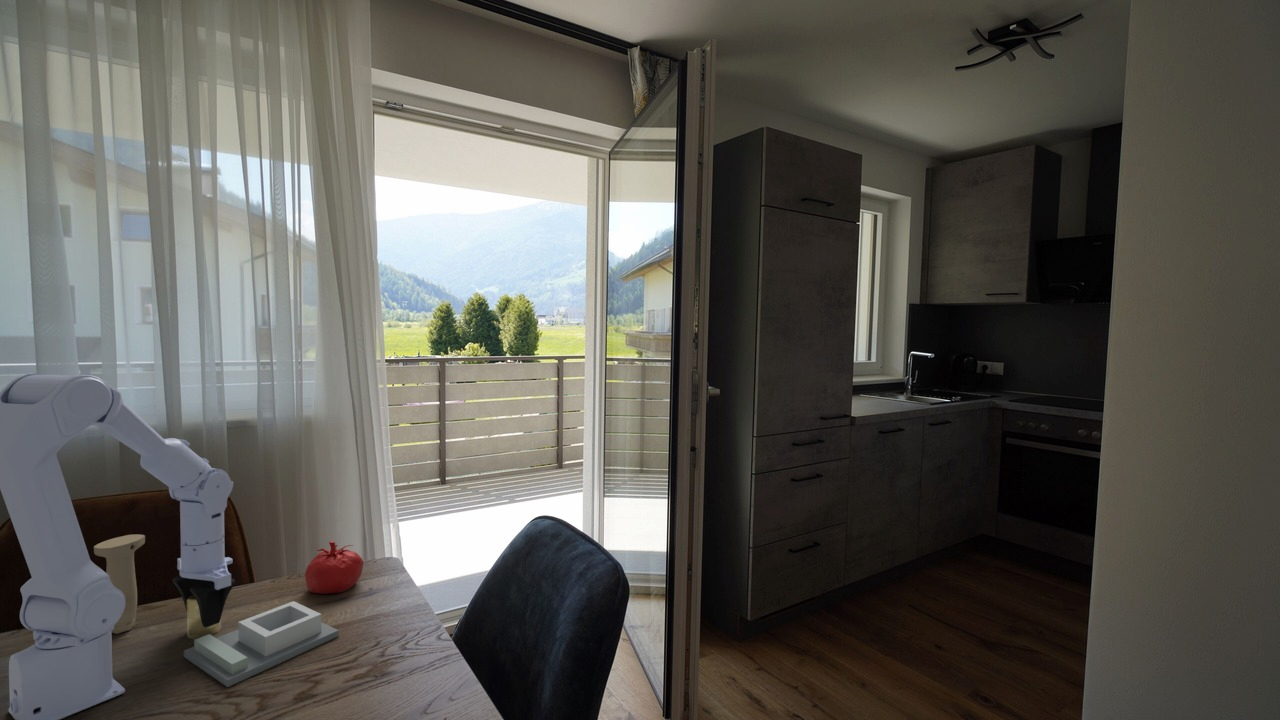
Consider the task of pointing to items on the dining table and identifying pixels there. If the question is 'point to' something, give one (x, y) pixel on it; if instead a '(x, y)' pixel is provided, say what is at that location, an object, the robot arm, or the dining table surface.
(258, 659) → the jig
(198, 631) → the brass cylinder
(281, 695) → the dining table surface
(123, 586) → the handle
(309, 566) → the red tomato
